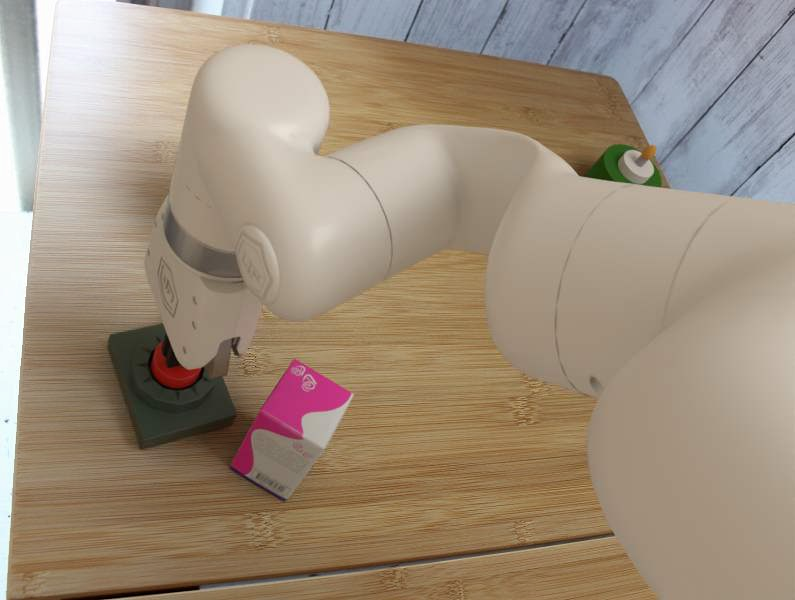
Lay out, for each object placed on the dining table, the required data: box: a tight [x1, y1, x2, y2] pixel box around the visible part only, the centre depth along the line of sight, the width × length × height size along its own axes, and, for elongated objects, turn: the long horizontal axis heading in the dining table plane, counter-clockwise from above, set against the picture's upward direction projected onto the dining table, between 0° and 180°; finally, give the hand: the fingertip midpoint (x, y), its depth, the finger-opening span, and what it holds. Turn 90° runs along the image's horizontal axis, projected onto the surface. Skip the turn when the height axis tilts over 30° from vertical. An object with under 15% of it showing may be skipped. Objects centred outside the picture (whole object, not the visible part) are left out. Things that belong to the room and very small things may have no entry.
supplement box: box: [229, 358, 355, 502], centre depth 68 cm, size 6×6×12 cm
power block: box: [106, 323, 238, 451], centre depth 71 cm, size 10×8×4 cm
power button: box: [151, 340, 202, 389], centre depth 69 cm, size 4×4×2 cm
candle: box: [583, 143, 663, 188], centre depth 103 cm, size 8×8×10 cm
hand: (183, 355), depth 67 cm, fingers closed
